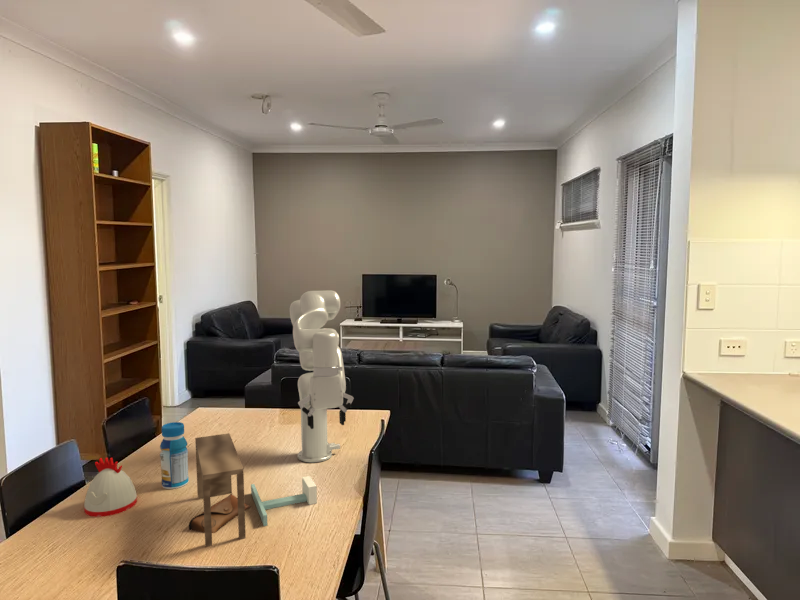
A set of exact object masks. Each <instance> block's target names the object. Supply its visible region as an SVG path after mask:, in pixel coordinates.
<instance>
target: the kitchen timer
mask: <svg viewBox="0 0 800 600" xmlns="http://www.w3.org/2000/svg"><path fill="white" fill-rule="evenodd" d="M94 465H95V467H96V469H97V471H98V472H97V474H96V475H95V476H94V478H93V479H92V480H91V482H90V483H89V485H88V488H87V491H86V494H85V499H84V504H83V506H84V507H83V510H84V514H85V515H87V516H89V517H95V518H98V517H99V518H102V517H108V516H110V517H111V516H114V515H118V514H120V513H123V511H124V512H126V511H128V510H130V509H131V508H133V507H134V506H135V505H136V504H137V502H138V499H137V498H138V496H137V491H136V488H135V485H134V484H133V481H132V477H131V476H129V475H128V474H127V473H126V472H125V471H124V470H122V468H123V465H120V466H119V468H118V461H115V462H114V459H113V457H110V458H109V457H105V458H104V460H103V457H100V458H99V459H98V461H95V462H94Z"/></svg>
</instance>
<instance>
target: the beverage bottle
mask: <svg viewBox="0 0 800 600" xmlns="http://www.w3.org/2000/svg"><path fill="white" fill-rule="evenodd" d="M184 434H185V424H184V423H183V422H181V421H180V422H179V421H178V422H177V421H173V422H168V423H165V424H163V425H162V426H161V437H162V438H163V439H162V440H161V441H160V446H159V449H160V450H161V451H160V453H159V458H160V468H161V469H160V470H161V471H160V472H161V486H162V488H163V489H167V490H175V489H179V488H180V489H181V488H182V487H185V486H187V485H188V484H189V482H190V480H189V479H190V478H189V460H188V458H189V456H188V455H189V449H188V447H187V446H188V441H187V439H186V437H185V436H184Z"/></svg>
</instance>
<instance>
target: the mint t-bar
mask: <svg viewBox="0 0 800 600" xmlns="http://www.w3.org/2000/svg"><path fill="white" fill-rule="evenodd" d="M301 486H302V490H301V491H302V493H299V494H295V495H290V496H289V495H288V496H285V497H279V498H274V499H269V500H268V499H267V500H265V501H262V500H261V496H260V494H259V492H258V490H257V487H256V485H255V483H252V484H250V493H251V497H252V499H253V502H254V504H255V506H256V510H257V512H258V515H259V517H260V520H261V522H262V525H263V527H267V526H268V513H267V512H266V510H270V509H276V508H281V507H285V506H291V505H296V504H301V503H307V504H308V505H314V504H318V497H317V496H318V495H317V493H318V490H317V487H318V486H317V485H316V483H315V482H314V480H313V479H312V476H311V475H308V476H302V477H301ZM300 502H301V503H300ZM295 503H296V504H295ZM290 504H291V505H290Z"/></svg>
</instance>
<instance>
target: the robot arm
mask: <svg viewBox="0 0 800 600" xmlns="http://www.w3.org/2000/svg"><path fill="white" fill-rule="evenodd" d="M340 309H341V297H340V295H339V294H338V293H337V291H335V290H331V289H329V290H327V289H325V290H308V291H306V292H304V293H302V295H300V298H299V299H297V300H294V301H292V302H291V303H290V306H289V318H290V320H291V321H290V322H291V325H292V337H293V343H294V347H295V349H296V351H297V352H298V355H299V364H300V367H301V368H302V370H304V371H309V372H306V373H303V374H301V375H300V376H299V378H298V380H297V389H298V395H299V401H298V402H297V404H298V406H299V408H300V428H301V430H300V431H301V433H300V435H301V438H300V439H301V450H300V451H298V453H297V459H298V460H299V461H301V462H304V463H320V462H325V461H327V460H329V459H330V458H332V456H333V450H339V449H341V444H340V443H335V442H330V443H329V442H328V411H327V410H328V409H335V408H339V409H340V410H339V415H338V416H339V418H338V419H339V424H340V425H341V426H345V422H346V413H347V411H348V410H349V408H350V407H351V406H352V403H353V401H354V399H355V398H354V396H353V395H350V394H348V393H346V390H347V386H346V385H347V382H346V375H345V374H346V373H345V367H344V366H345V365H344V359H343V353H342V350H341V348H340V347H339V344H340V336H339V333H338V332H337V330H336V329H335V328H328V327H327V328H323V327H324V326H325V325H326V324H327V322H328V321H331V320H335V318H336V316H337V315H338V314H339V312H340ZM311 371H312V372H311ZM344 398H345V399H347V401H346V403H345V404H344ZM343 404H344V405H343Z"/></svg>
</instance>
